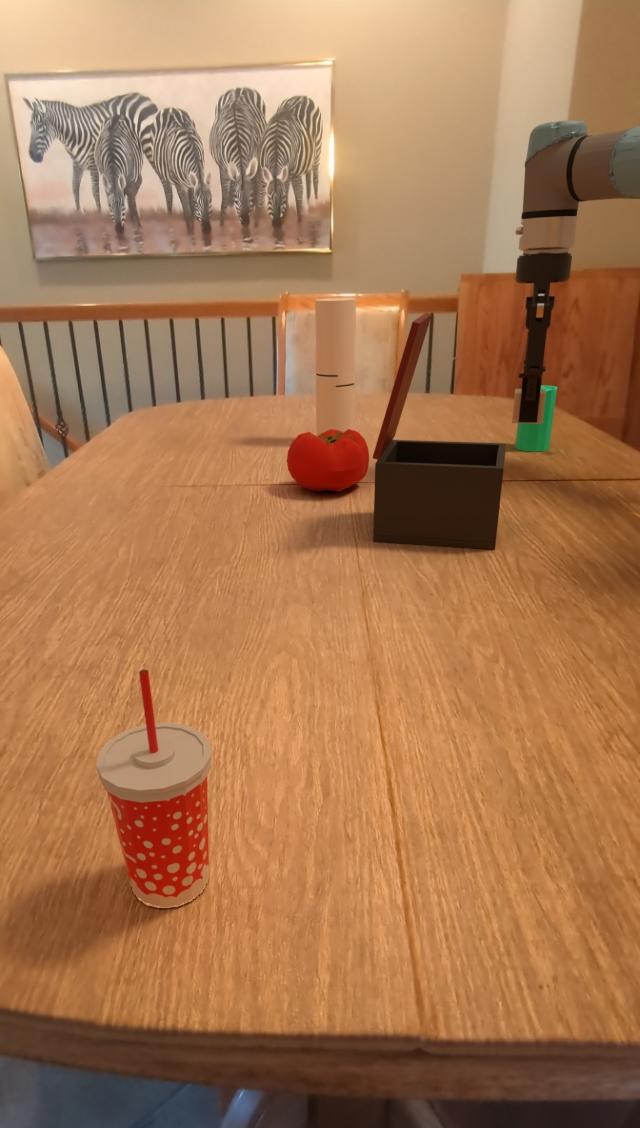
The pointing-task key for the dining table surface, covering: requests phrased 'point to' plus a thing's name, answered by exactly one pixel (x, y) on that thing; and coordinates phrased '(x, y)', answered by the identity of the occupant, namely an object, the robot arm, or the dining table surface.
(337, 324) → the cylindrical container
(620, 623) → the dining table surface
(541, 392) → the block
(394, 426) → the box lid
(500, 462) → the open box
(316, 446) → the tomato
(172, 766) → the beverage cup
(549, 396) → the candle
